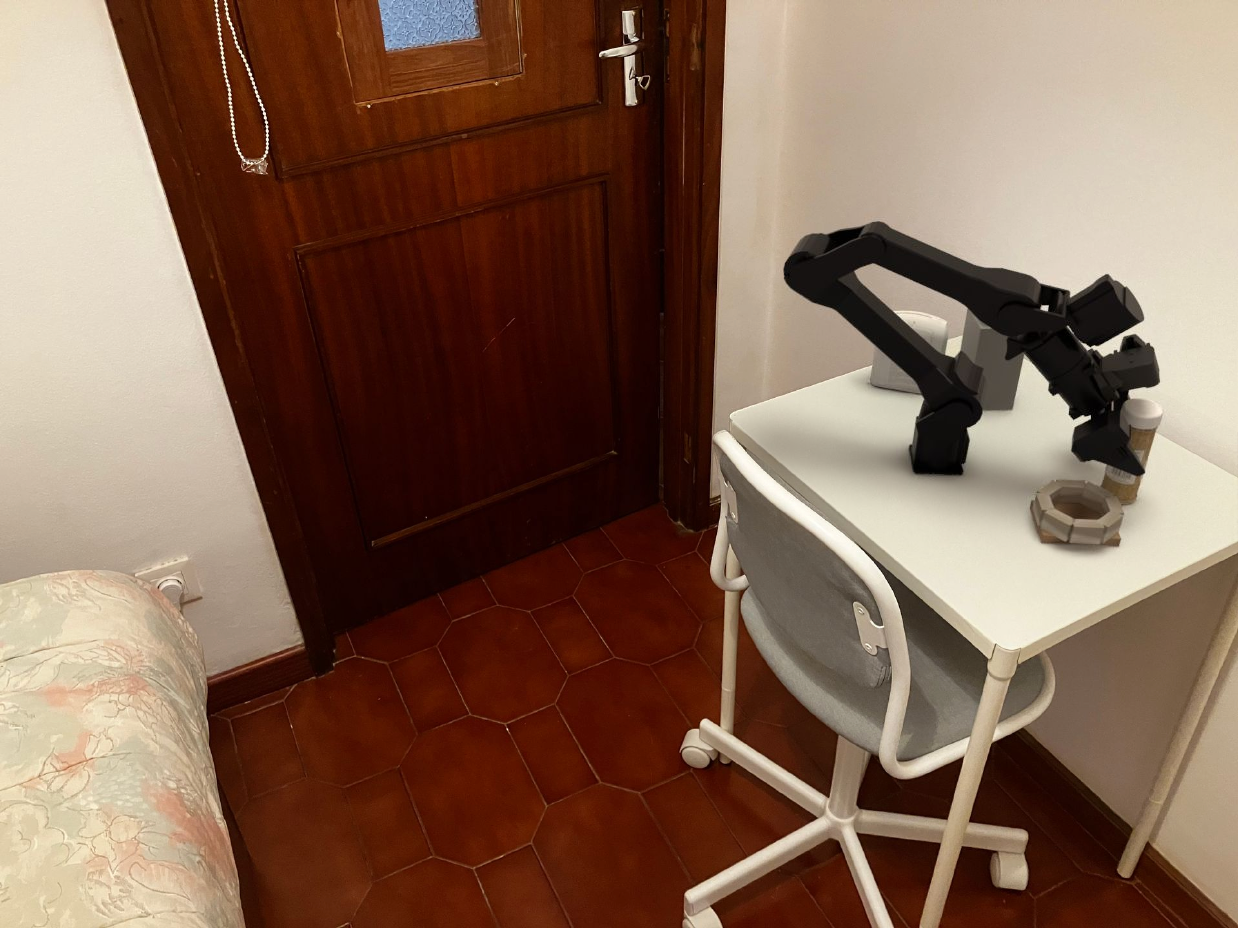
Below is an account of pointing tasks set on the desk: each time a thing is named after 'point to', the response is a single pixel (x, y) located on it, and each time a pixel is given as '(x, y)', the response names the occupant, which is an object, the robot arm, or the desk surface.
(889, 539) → the desk surface
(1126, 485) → the sprinkles bottle
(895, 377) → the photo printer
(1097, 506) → the octagonal open basket
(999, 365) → the perfume bottle
